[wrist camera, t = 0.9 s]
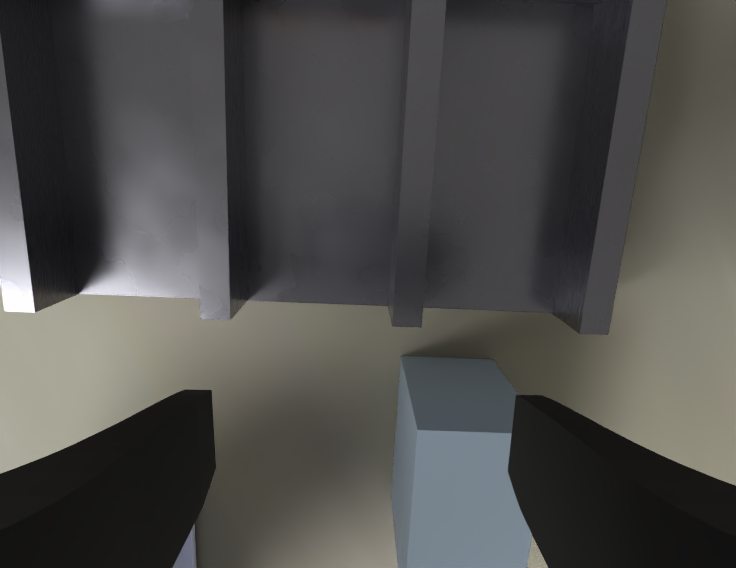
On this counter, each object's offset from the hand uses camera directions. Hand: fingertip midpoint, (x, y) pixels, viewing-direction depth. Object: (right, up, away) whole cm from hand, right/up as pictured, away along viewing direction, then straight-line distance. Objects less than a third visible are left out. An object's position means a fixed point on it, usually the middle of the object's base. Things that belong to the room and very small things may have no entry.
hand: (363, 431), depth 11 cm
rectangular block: (+3, -3, +10) cm, 11 cm away
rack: (-2, +9, +7) cm, 11 cm away
